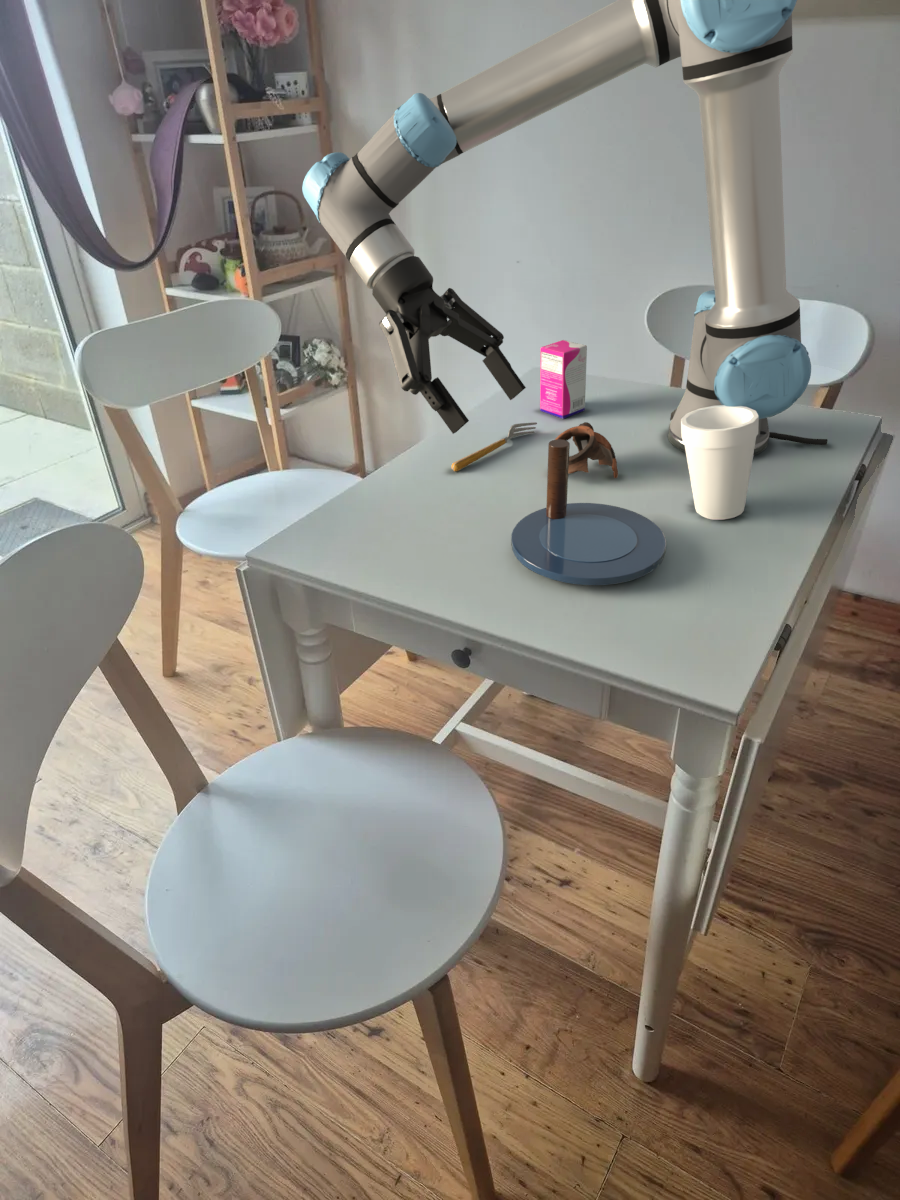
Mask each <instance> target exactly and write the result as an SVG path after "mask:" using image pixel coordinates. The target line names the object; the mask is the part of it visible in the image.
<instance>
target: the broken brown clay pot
mask: <svg viewBox="0 0 900 1200" xmlns="http://www.w3.org/2000/svg"><path fill="white" fill-rule="evenodd" d="M557 439H561V440H566V441H569V440H571V439H572V441H573V443H574V445H575V447H576V448H577V451H578V452H577V453H575V454H573V455H569V469H568V475H571V474H575V473H578V472H583V473H586V474H587V473H588V474H589V473H590V471H589V465H588V463H589V459H590V460H592V461H598V462H597V463H598V465H599V466H609V467H611V470H612V472H613V478H614V479H617V478H618V476H619V470H618V462H617V458H616V455H615V454H616V453H615V451H614V448H613V446H612V444H611V443H610V441H609V440H608V439H607V438H606V437H605V436H604V435H603V434H601V433H599V432H597V431H595V430H594V427H593V425H592V424H591V423H589V422H587V421H584V422H583V423H579V424H578V425H576V426H573V427H570V428H568V429H566V430H564V431H563V432H561V433H560V434H558V435H557V437H555V439H554V440H557Z"/></svg>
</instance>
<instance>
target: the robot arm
mask: <svg viewBox="0 0 900 1200" xmlns="http://www.w3.org/2000/svg"><path fill="white" fill-rule="evenodd" d="M797 1H798V0H615V1H613V2H611V3H609V4H607V5H606V6H604V7H602V8H599V9H598V10H596V11H594V12H592V13H591V14H589V15H587V16H585V17H583V18H581V19H579V20H576V21H575V22H573V23H571V24H570V25H568V26H566V27H564V28H562V29H560V30H558V31H556V32H554V33H552V34H550V35H549V36H547V37H544V38H543V39H541V40H539V41H537V42H536V43H533V44H532V45H529V46H528V47H526V48H523V49H522V50H520V51H518V52H517V53H515V54H512V55H511V56H509V57H506V58H505V59H503V60H501V61H498V63H495V64H493V65H491V66H489V67H488V68H485V69H484V70H481V71H480V72H478V73H477V74H474V75H473V76H471V77H468V78H466V79H465V80H463V81H461V82H459V83H457V84H455V85H453V86H452V87H450V88H448V89H446V90H444V91H442V92H441V93H439V94H437V95H435V96H432V97H431V98H430V97H428V96H427V95H426V94H424V93H422V92H416V93H414V94H413V95H411V96H410V97H409V98H408V99H407V100H406V101H405V102H404V103H402V104H401V105H400V106H398V107H397V108H396V110H395V111H394V113H393V114H392V115H391V116H390V117H389V118H388V120H386V122H385V123H384V124H383V125H382V126H381V127H380V128H379V129H378V130H377V131H376V132H375V134H373V136H372V137H370V139H369V140H368V142H366V143H365V144H364V145H363V147H362V148H361V149H360V150H359V152H356V153H355V154H354V156H352V157H351V158H350V157H348V155H347V154H345V153H344V152H342V151H341V152H340V151H336V152H335V151H334V152H331V153H328V154H326V155H325V156H323V158H322V159H321V160H320V161H316V162H315V163H314V164H313V165H312V166H311V167H310V168H309V170H308V171H307V173H306V174H305V176H304V179H303V182H302V185H301V187H302V188H301V189H302V195H303V197H304V199H305V200H306V202H307V204H308V205H309V207H310V209H311V210H312V211H313V213H314V215H315V216H316V219H317V222H318V223H319V224H320V225H321V226H322V227H323V228H324V230H325V232H327V234H328V235H329V236H330V238H331V239H332V241H334V243H335V244H336V246H337V247H338V248H339V250H340V251H341V253H342V255H344V256H345V258H346V260H347V261H348V263H350V265H351V266H352V267H353V269H354V270H355V271H356V273H357V275H358V276H359V277H360V278H361V281H362V282H363V283H364V284H365V286H366V288H367V289H369V290H372V291H371V292H372V297H373V298H374V299H375V301H376V302H377V303H378V305H379V306H380V308H381V309H382V311H383V312H384V313H385V315H384V316H383V317H382V319H381V320H380V321H379V323H378V326H379V329H380V330H381V331H382V333H383V335H384V336H385V338H386V340H387V343H388V347H389V351H390V354H391V357H392V361H393V364H394V367H395V371H396V374H397V377H398V381H399V385H400V387H401V389H402V391H404V392H410V393H411V394H412V395H418V394H419V393H420V394H421V395H422V396H423V398H424V399H425V401H426V402H427V404H428V405H429V406H430V407H431V409H432V411H434V412H436V413H437V414H438V416H439V417H440V418H441V420H442V421H443V422H444V424H445V425H446V426H447V428H448V429H449V431H450V432H451V433H452V435H454V434H456V433H457V432H459V430H460V429H461V428H463V427H464V426H465V425H467V423H469V421H470V420H469V418H468V416H467V415H466V414H465V413H464V411H463V410H462V409H461V407H460V406H459V404H458V402H456V400H455V399H454V397H453V396H452V395H451V393H450V392H449V390H448V389H447V388H446V386H445V385H444V383H443V382H442V381H441V379H440V378H439V377H435V378H433V375H432V374H433V373H432V364H431V353H430V352H431V351H430V341H429V340H430V339H431V338H432V337H433V338H434V337H435V338H436V337H438V336H442V337H449V338H451V339H453V340H455V341H456V342H458V343H460V344H462V345H464V346H465V347H468V348H469V349H470V350H473V351H474V352H476V353H478V354H480V356H481V355H482V356H483V357H484V358H483V359H482V363H483V364H484V365H485V367H486V368H487V369H488V371H489V372H490V374H491V376H492V377H493V378H494V380H495V381H496V383H498V385H499V387H500V388H501V389H502V391H503V392H504V393H505V395H506V397H507V398H508V399H509V400H510V401H511V400H513V399H514V398H516V397H517V396H518V395H519V394H520V393H522V392H523V391H524V390H525V389H526V388H527V387H526V386H525V385H524V383H523V381H522V380H521V378H520V377H519V376H518V374H517V373H516V371H515V370H514V369H513V367H512V365H511V363H510V361H508V359H507V357H506V356H505V355H504V353H503V352H502V350H501V349H500V346H501V345H502V344H503V343H504V339H505V337H504V334H503V333H502V332H501V331H500V330H498V329H497V328H496V327H495V326H494V325H492V324H491V323H490V322H489V321H488V320H486V319H485V318H484V317H483V316H481V315H480V314H479V313H478V312H477V311H476V310H475V309H473V308H472V307H471V306H469V305H468V304H467V303H466V302H464V301H463V300H462V299H461V297H460V296H459V295H458V293H456V291H455V290H454V288H451V287H448V288H447V289H446V290H445V292H444V293H443V294H442V295H439V294H438V293H437V292H436V291H435V290H434V287H433V283H434V277H433V275H432V273H431V272H430V271H429V269H428V268H427V267H426V265H425V264H424V262H423V261H422V259H421V258H420V256H416V255H415V249H414V247H413V246H412V245H411V243H410V242H409V240H408V239H407V238H406V236H405V235H404V233H403V232H402V231H401V229H400V228H399V227H398V225H397V224H396V223H395V222H394V220H393V218H392V217H391V215H390V213H391V212H392V211H393V210H394V209H396V208H397V207H398V206H399V204H400V203H401V202H402V201H403V200H404V199H405V198H406V197H407V196H408V195H409V194H410V193H411V192H412V191H414V190H415V189H416V188H417V187H418V186H419V185H420V184H421V183H422V182H423V181H424V180H425V179H426V178H427V177H428V176H429V175H430V174H431V173H432V172H433V171H434V170H435V169H436V168H439V167H440V166H441V165H443V164H444V163H447V162H449V161H451V160H453V159H455V158H457V157H459V156H460V155H462V154H464V153H466V152H468V151H470V150H473V149H474V148H476V147H478V146H480V145H482V144H485V143H486V142H488V141H490V140H492V139H494V138H497V137H498V136H501V135H502V134H504V133H506V132H509V131H510V130H512V129H515V128H516V127H520V126H521V125H523V124H525V123H527V122H528V121H531V120H533V119H535V118H537V117H539V116H541V115H543V114H545V113H547V112H549V111H551V110H554V109H556V108H557V107H559V106H562V105H563V104H565V103H567V102H570V101H571V100H574V99H576V98H577V97H579V96H582V95H584V94H585V93H588V92H590V91H592V90H594V89H596V88H598V87H600V86H602V85H604V84H606V83H608V82H611V81H612V80H614V79H616V78H618V77H620V76H622V75H624V74H626V73H628V72H630V71H633V70H635V69H636V68H638V67H641V66H643V65H649V66H651V67H653V68H658V67H660V66H662V65H664V64H666V63H668V62H671V61H673V60H675V59H678V58H680V60H681V67H682V68H681V69H682V70H681V71H682V78H683V79H682V80H683V81H682V82H683V84H684V85H686V86H687V87H688V88H689V89H691V90H692V91H694V92H695V93H696V95H697V96H698V103H699V104H698V105H699V116H700V128H701V140H702V154H703V164H704V165H703V167H704V177H705V191H706V201H707V202H706V203H707V213H708V215H707V216H708V225H709V237H710V238H709V239H710V250H711V251H710V252H711V261H712V263H711V264H712V275H713V287H714V289H711V290H707V291H704V292H702V293H701V294H700V295H699V297H698V299H697V302H696V307H695V311H694V313H693V316H694V320H693V321H694V322H693V328H692V329H693V330H692V337H691V345H690V353H689V361H688V369H687V376H686V377H687V378H686V385H685V391H684V393H683V395H682V397H681V399H680V402H679V403H678V406H677V408H675V409H674V410H673V411H672V412H670V418H669V421H670V422H669V424H668V433H667V438H668V441H669V443H670V444H671V445H672V446H673V447H675V448H676V449H678V450H679V451H682V452H683V453H686V450H685V444H684V442H683V440H682V434H681V419H682V418H683V417H684V416H685V415H686V414H687V413H689V412H692V411H694V410H697V409H700V408H705V407H710V406H719V405H725V406H730V407H735V406H744V407H748V408H751V409H753V410H756V412H757V414H758V416H759V426H758V435H757V436H756V441H755V447H754V454H753V457H754V456H756V455H758V454H760V453H762V452H764V451H765V450H766V449H767V447H768V444H769V439H774V440H779V441H780V440H781V441H786V442H792V443H798V444H803V445H812V446H827V445H828V442H829V441H828V438H812V437H803V436H797V435H793V434H786V433H781V432H773V431H770V428H769V427H770V426H769V420H768V418H771V417H775V416H777V415H780V414H781V413H783V412H785V411H786V410H788V409H789V408H790V407H792V406H793V405H794V404H795V403H796V402H797V401H798V400H799V399H800V398H801V396H803V394H804V393H805V391H806V389H807V387H808V385H809V383H810V379H811V376H812V362H811V358H810V354H809V351H808V349H807V347H806V346H805V345H804V344H803V343H802V329H801V302H800V300H799V299H798V298H797V297H796V296H794V295H793V294H792V293H790V292H789V291H788V289H787V271H786V270H787V269H786V242H785V241H786V239H785V218H784V217H785V216H784V215H785V213H784V190H783V189H784V187H783V161H782V160H783V159H782V157H783V156H782V133H781V132H782V131H781V105H780V79H779V78H780V77H779V75H780V73H781V71H782V69H783V67H784V66H785V64H786V63H787V62H788V61H789V59H790V57H791V56H792V55H793V53H794V49H793V47H794V46H793V11H794V9H795V7H796V5H797ZM432 379H433V380H432Z"/></svg>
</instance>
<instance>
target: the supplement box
mask: <svg viewBox="0 0 900 1200" xmlns="http://www.w3.org/2000/svg"><path fill="white" fill-rule="evenodd" d="M587 356H588V345H587V344H582V343H578V342H573V341H570V340H566V339H562V340H558V341H556V342H552V343H549V344H546V345H544V346H541V347H540V366H539V367H540V370H539V372H540V381H539V382H540V383H539V387H540V389H539V391H540V392H539V393H540V394H539V402H540V403H539V411H540V412H542V413H545V414H547V415H551V416H554V417H556V418H559V419H562V420H564V419H567V418H569V417H572V416H574V415H577V414H580V413H583V412H585V411H586V390H587V389H586V386H587V385H586V384H587Z"/></svg>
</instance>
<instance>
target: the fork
mask: <svg viewBox="0 0 900 1200" xmlns="http://www.w3.org/2000/svg"><path fill="white" fill-rule="evenodd" d="M537 424H538V423H537V422H523V423H515V424H513V425H511V426H510V428H509V429H508V433H507V436H505V437H503V438H501V439H498V440H497V441H495V442H493V443H491V444H489V445H487V446H485V447H483V448H481V449H479V450H477V451H474V452H472V453H471V454H469V455H467V456H464V457H462V458H461V459H458V460H456V461H454V462H452V464H451V470H452V471H453V472H459V471H460V470H463V469H465V468H466V467H467V466H470V465H471V464H474V462H477V461H478V460H480V459H482V458H483V457H485V456H487V455H489V454H490V453H492V452H494V451H496V450H497V449H499V448H500V447H502V446H504V445H506V444H507V443H508V441H509V440H511V439H513V438H516V437H519V436H524V435H529V434H530V435H531V434H535V433H536V431H534V430H535V429H537V427H536V426H535V425H537ZM529 430H530V431H529ZM531 430H533V431H531Z"/></svg>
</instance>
